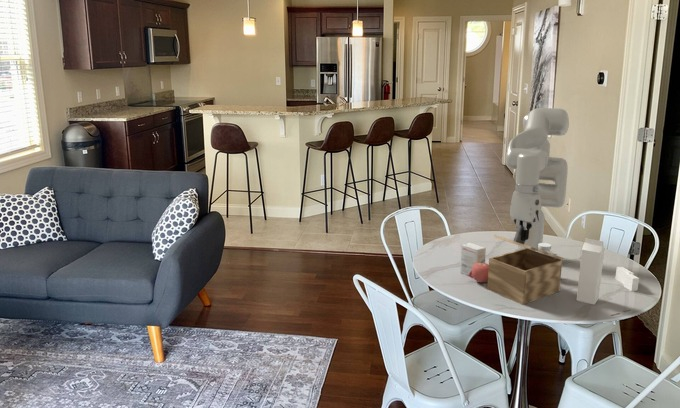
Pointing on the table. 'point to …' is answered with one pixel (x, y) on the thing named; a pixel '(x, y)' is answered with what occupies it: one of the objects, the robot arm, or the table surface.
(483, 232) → the table surface
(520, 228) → the lid
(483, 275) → the apple
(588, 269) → the milk
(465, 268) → the ink box
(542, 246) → the supplement bottle
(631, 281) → the white stepped block
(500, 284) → the wooden box
